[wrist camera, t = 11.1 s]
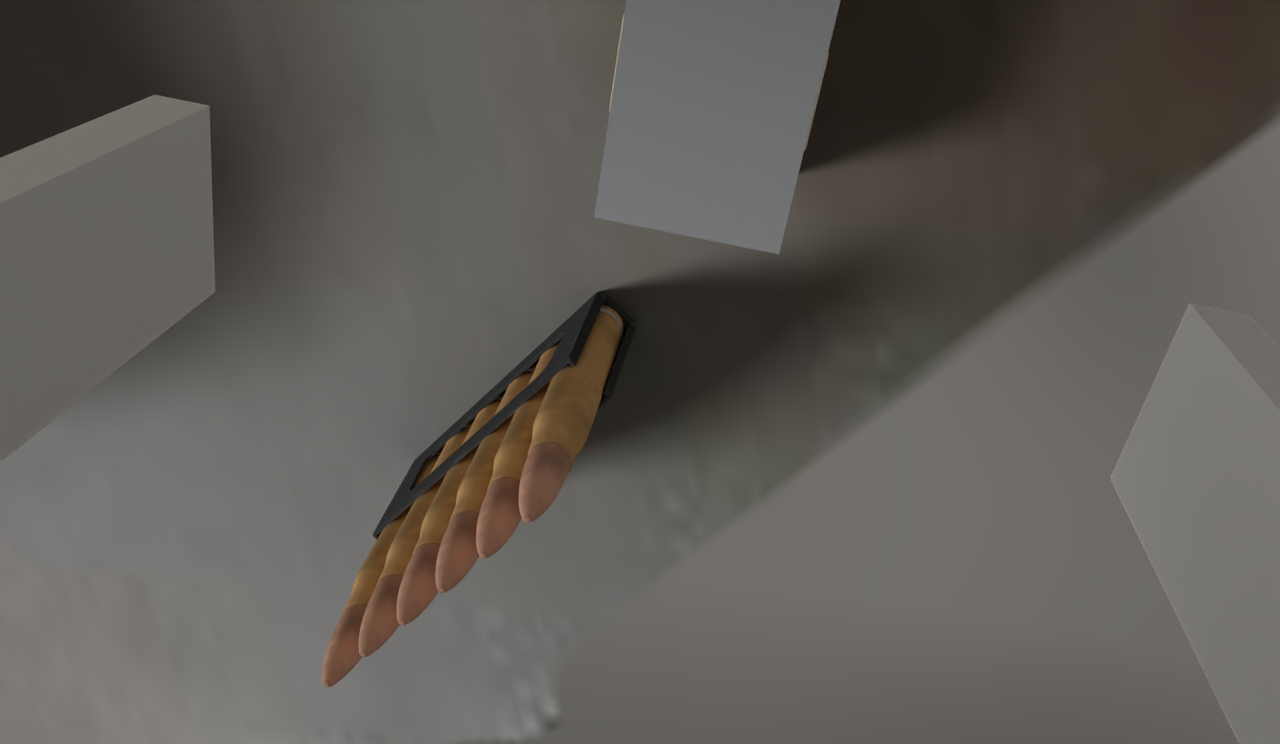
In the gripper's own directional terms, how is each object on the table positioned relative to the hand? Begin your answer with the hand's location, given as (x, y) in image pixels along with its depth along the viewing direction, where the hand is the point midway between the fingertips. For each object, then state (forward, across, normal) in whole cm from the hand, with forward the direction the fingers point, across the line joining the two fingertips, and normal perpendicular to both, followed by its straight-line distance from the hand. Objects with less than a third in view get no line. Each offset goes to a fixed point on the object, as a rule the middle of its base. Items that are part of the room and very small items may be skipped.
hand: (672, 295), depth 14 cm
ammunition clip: (+20, -5, -14) cm, 25 cm away
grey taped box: (+20, 0, 0) cm, 20 cm away
